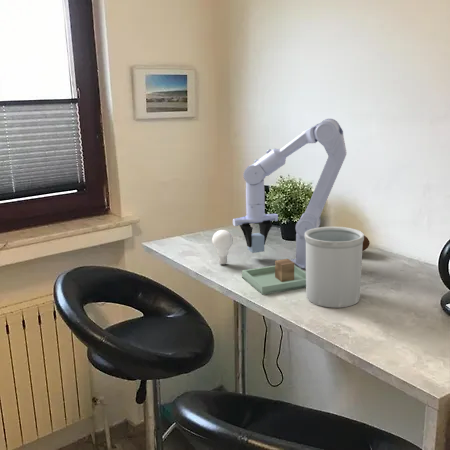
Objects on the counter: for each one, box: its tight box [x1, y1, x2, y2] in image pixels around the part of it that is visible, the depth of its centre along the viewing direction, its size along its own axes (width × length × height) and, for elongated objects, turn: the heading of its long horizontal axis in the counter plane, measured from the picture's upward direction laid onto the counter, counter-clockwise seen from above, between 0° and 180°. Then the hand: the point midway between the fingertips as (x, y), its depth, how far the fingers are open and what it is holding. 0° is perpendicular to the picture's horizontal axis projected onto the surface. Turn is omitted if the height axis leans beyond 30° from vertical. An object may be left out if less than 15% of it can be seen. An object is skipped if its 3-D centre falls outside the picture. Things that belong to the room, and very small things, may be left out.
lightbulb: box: [211, 229, 234, 266], centre depth 173 cm, size 6×6×11 cm
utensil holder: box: [305, 226, 365, 309], centre depth 145 cm, size 15×15×18 cm
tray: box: [241, 264, 306, 295], centre depth 159 cm, size 16×14×2 cm
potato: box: [362, 235, 371, 252], centre depth 180 cm, size 7×10×8 cm
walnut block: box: [274, 258, 295, 282], centre depth 159 cm, size 4×4×5 cm
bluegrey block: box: [247, 232, 265, 254], centre depth 176 cm, size 4×4×5 cm
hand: (256, 245), depth 177 cm, fingers closed on bluegrey block, 4 cm apart
